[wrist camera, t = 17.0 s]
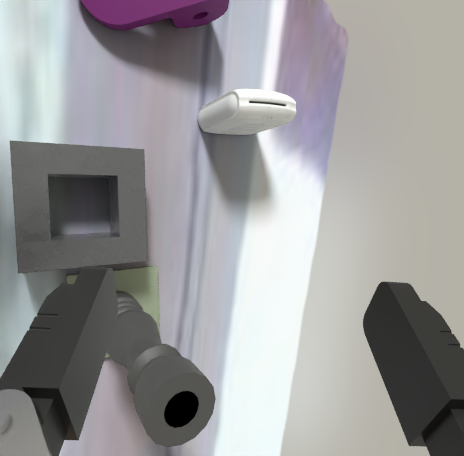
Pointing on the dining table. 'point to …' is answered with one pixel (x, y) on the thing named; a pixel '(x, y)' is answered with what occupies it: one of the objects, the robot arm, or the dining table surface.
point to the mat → (137, 287)
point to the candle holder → (159, 377)
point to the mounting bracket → (155, 12)
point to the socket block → (38, 213)
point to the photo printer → (246, 112)
